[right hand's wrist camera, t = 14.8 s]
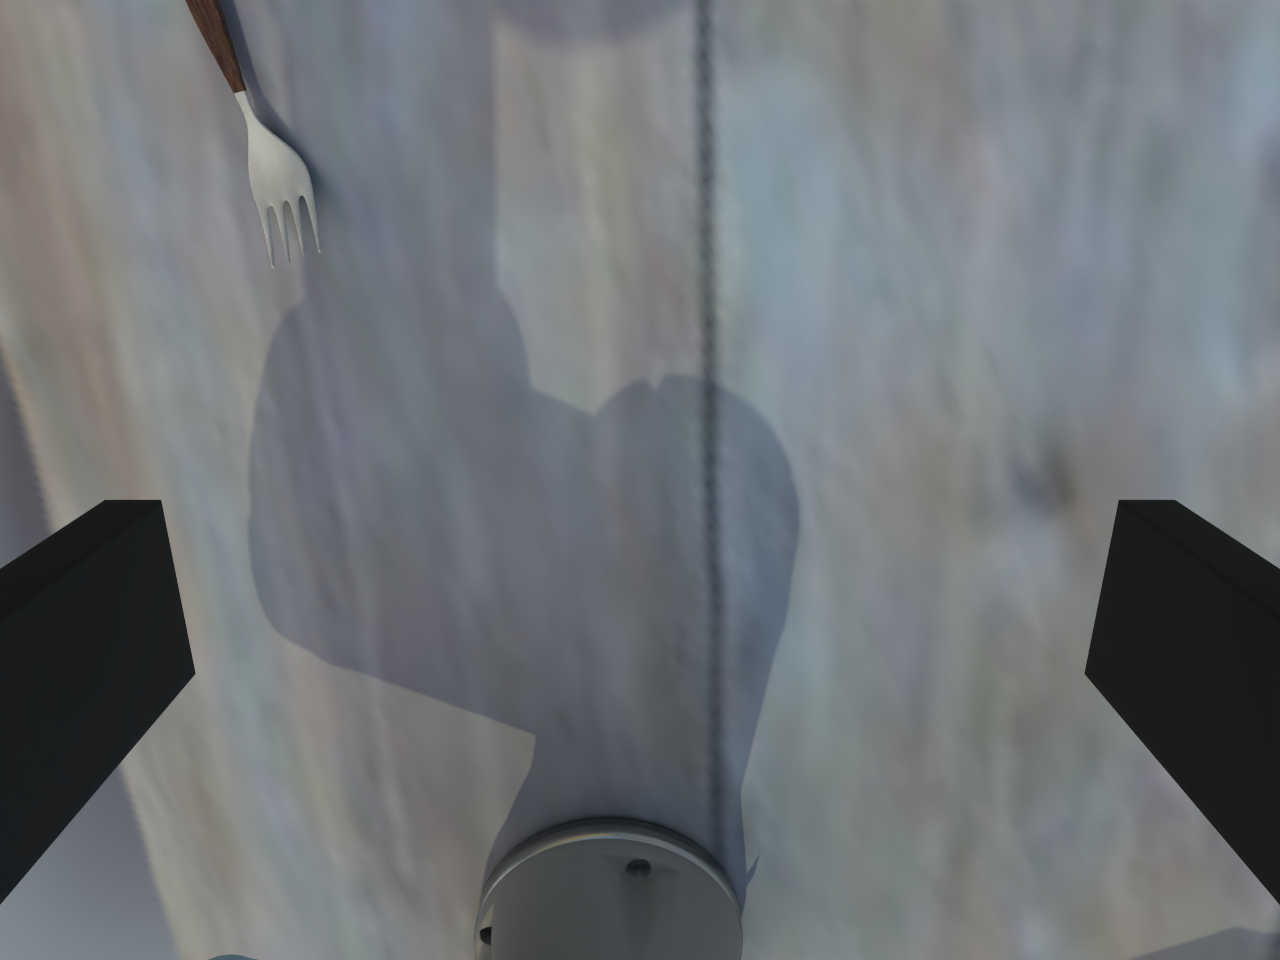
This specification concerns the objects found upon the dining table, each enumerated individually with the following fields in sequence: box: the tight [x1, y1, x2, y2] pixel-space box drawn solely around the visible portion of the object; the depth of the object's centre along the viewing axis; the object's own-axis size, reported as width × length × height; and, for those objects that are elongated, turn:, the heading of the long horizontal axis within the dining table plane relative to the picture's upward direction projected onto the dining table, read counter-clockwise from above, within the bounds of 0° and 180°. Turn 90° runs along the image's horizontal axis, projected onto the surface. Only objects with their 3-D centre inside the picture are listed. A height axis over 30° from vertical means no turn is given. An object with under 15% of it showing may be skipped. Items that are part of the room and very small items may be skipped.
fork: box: [186, 0, 322, 268], centre depth 36 cm, size 3×16×2 cm, turn 17°
